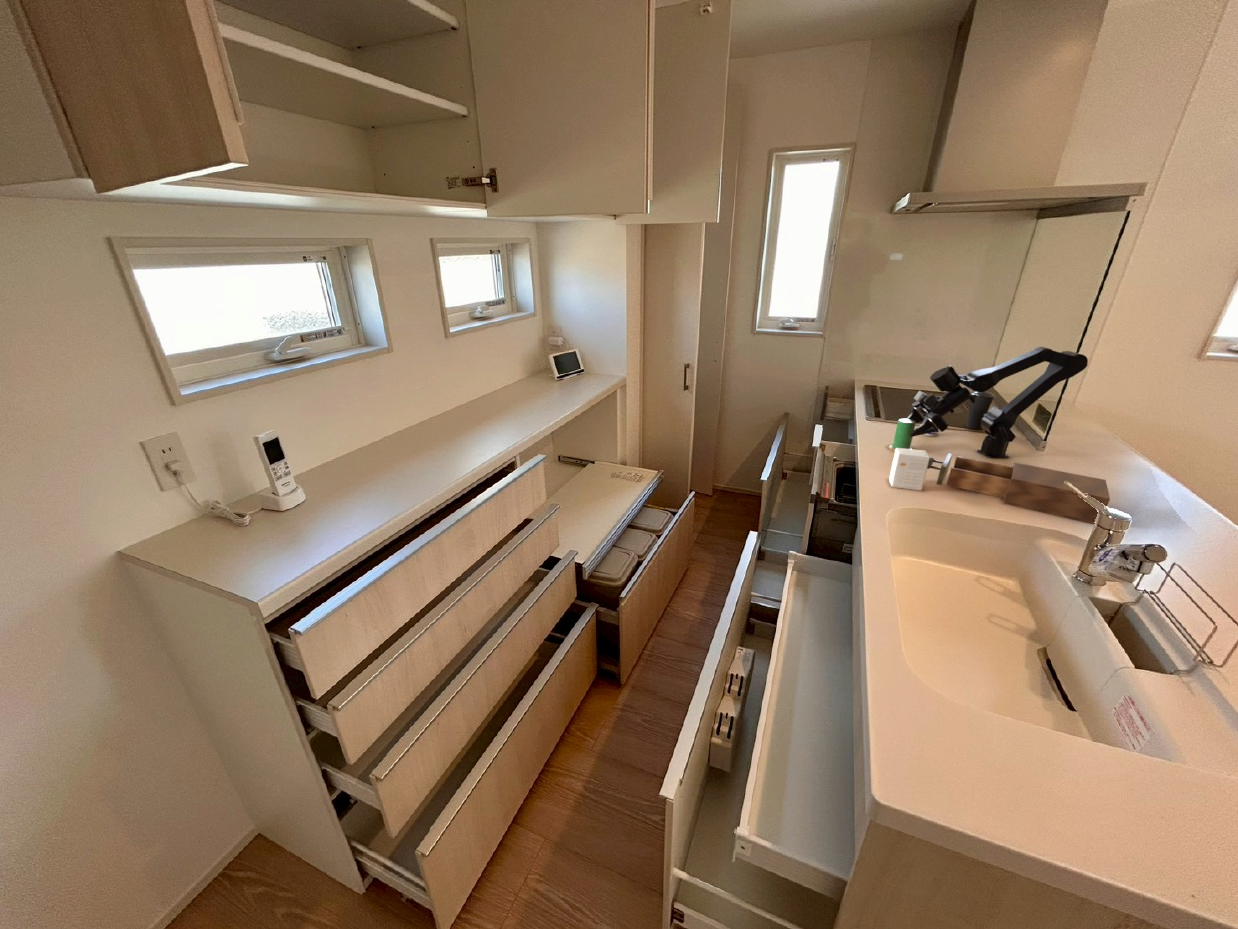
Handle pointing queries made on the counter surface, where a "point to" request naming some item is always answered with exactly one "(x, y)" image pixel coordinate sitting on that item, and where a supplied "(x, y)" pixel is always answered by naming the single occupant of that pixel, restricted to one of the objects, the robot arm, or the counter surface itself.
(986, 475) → the drawer
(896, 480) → the small box
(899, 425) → the green can
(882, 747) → the counter surface
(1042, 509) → the cabinet
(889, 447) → the coaster
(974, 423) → the drinking cup
